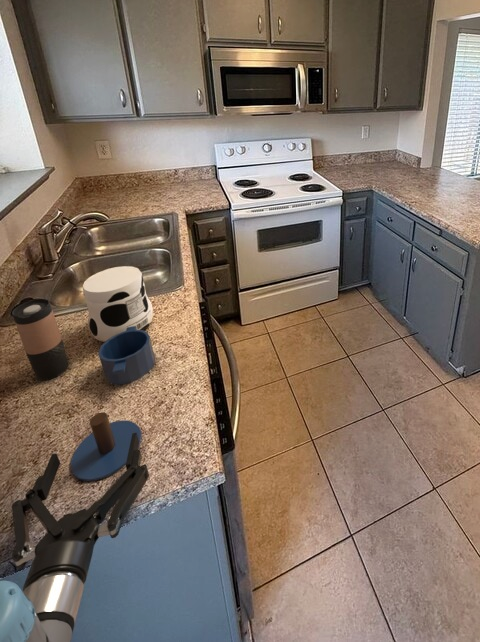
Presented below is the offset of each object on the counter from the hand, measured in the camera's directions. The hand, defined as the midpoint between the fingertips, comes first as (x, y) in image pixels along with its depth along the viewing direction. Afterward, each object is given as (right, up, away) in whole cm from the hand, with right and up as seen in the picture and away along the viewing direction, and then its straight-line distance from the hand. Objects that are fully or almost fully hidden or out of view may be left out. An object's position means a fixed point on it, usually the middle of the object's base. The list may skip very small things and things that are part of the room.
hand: (97, 447), depth 69 cm
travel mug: (-29, +3, +27) cm, 40 cm away
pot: (-8, +3, +27) cm, 28 cm away
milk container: (-19, +8, +43) cm, 47 cm away
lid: (-1, -4, +5) cm, 7 cm away
